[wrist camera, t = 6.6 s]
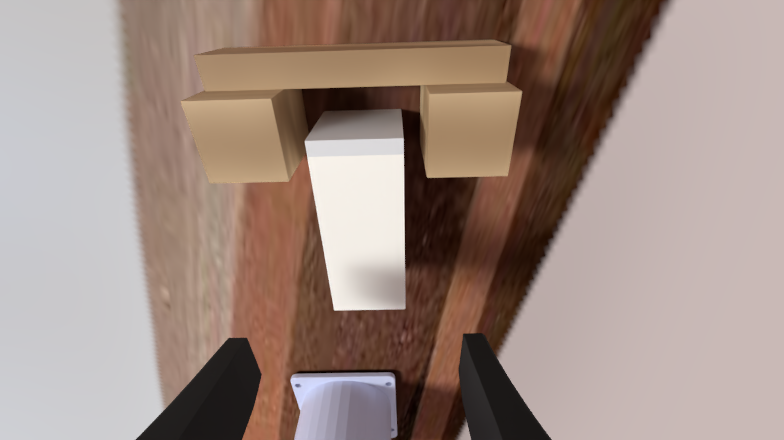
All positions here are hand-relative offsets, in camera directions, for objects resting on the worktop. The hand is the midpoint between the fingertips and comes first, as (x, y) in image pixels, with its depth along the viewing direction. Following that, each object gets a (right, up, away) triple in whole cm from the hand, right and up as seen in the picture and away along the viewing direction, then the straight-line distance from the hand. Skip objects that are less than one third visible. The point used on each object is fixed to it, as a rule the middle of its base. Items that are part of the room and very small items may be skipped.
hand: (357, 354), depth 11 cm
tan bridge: (0, +10, +4) cm, 10 cm away
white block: (0, +6, +6) cm, 8 cm away
